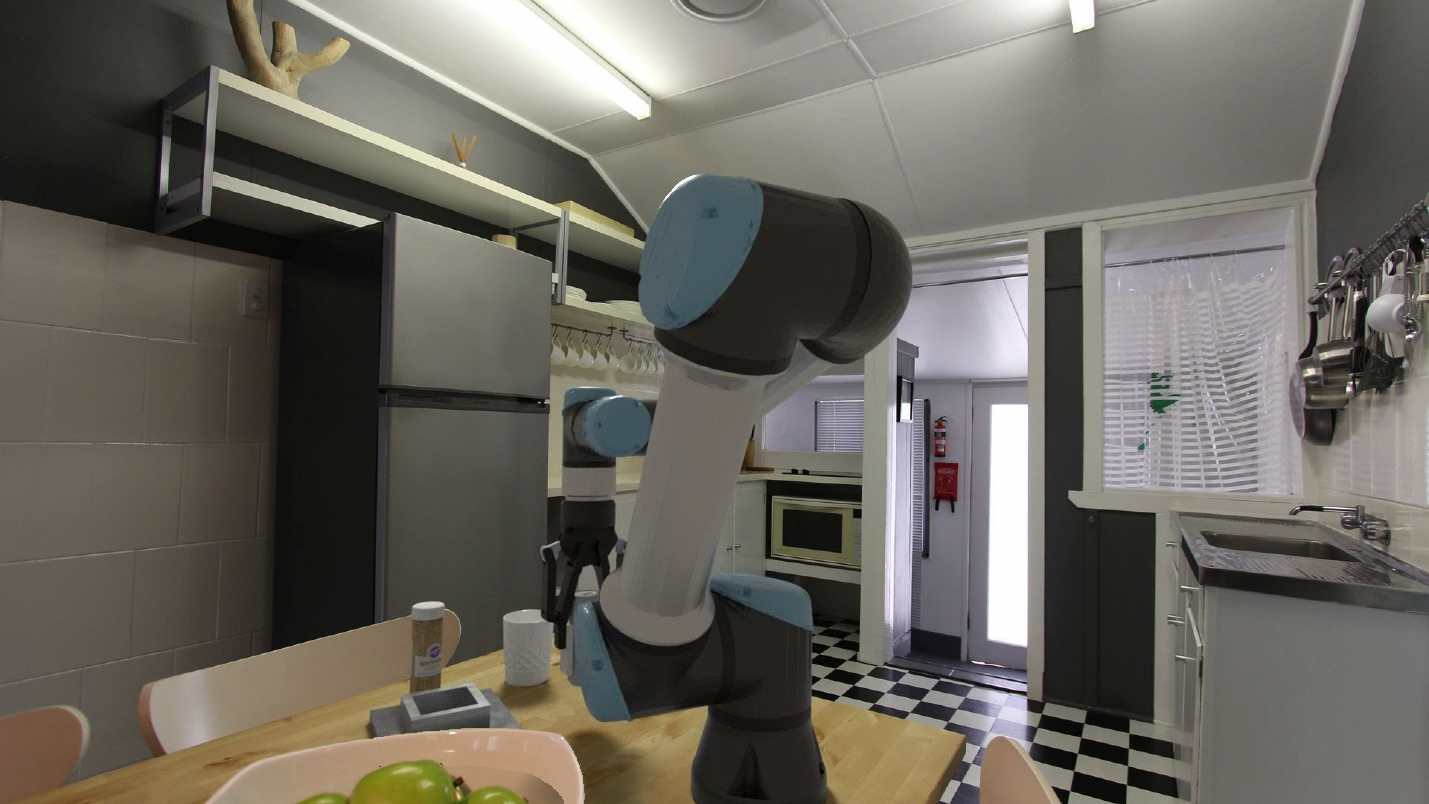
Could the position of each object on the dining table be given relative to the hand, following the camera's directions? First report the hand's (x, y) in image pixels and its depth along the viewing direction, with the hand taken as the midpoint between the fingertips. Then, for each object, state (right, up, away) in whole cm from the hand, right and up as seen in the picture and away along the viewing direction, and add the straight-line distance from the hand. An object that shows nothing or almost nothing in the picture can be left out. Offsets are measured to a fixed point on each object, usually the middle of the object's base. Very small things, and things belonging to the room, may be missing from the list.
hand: (585, 668), depth 92 cm
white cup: (-12, -8, +15) cm, 21 cm away
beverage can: (0, -2, 0) cm, 2 cm away
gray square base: (-18, -7, -4) cm, 19 cm away
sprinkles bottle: (-25, -7, +8) cm, 28 cm away
